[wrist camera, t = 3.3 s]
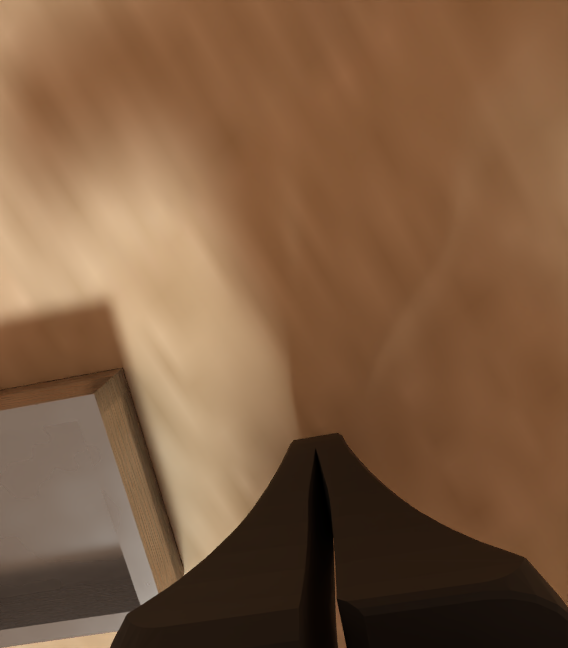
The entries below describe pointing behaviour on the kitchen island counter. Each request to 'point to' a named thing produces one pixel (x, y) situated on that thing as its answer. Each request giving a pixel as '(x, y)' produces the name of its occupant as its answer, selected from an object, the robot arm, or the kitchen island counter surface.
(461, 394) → the kitchen island counter surface
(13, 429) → the tray
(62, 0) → the kitchen island counter surface
